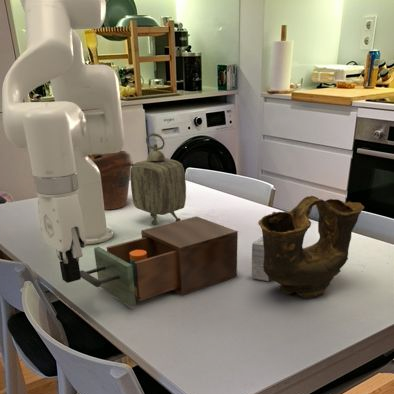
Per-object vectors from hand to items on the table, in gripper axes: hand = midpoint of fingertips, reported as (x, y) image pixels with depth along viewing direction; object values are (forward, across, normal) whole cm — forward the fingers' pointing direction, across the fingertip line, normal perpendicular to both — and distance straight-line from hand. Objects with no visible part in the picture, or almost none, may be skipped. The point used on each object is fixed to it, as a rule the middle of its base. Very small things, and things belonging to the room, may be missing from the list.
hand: (71, 279), depth 100 cm
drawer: (+6, 0, +13) cm, 15 cm away
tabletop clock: (+7, -38, +46) cm, 60 cm away
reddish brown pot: (+7, -66, +44) cm, 80 cm away
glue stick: (+5, 0, +16) cm, 16 cm away
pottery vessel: (+8, +22, +44) cm, 50 cm away
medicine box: (+8, +11, +43) cm, 45 cm away
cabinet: (+7, 0, +29) cm, 30 cm away
